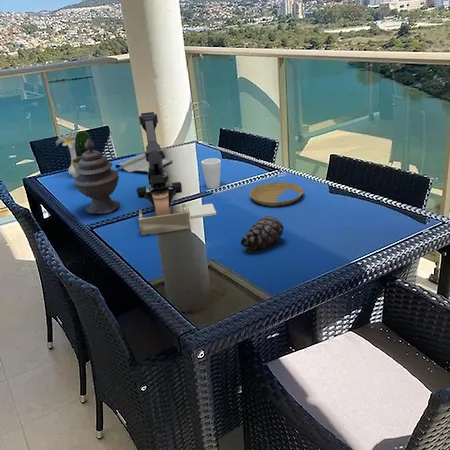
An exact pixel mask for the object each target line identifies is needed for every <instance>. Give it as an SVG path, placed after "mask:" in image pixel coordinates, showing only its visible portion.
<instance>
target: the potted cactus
mask: <svg viewBox="0 0 450 450" xmlns="http://www.w3.org/2000/svg"><path fill="white" fill-rule="evenodd" d="M76 132H77V131H76ZM86 132H87V131H86V130H80V129H79V130H78V132H77V134H76V135H75V134H74V135H75V136H76V138H75V144H74V145H75V149H76V151H77V154H78V156H77V158H74V159H73V160H72V161H71V162H72V164H73V167H74V169H76V168H77V167H79V165H78V163H79V161H80V160H81V159H82V158H81V156H82V154H83V153H85V152H86V151H88V149H86V148H85V143H86V141H87V140H88V138H89V139H90V140H91V141H92V138H91V137H92V136H91V135H90V132H89V133H88V132H87V133H86ZM76 175H77V176H78V175H79V173H76Z"/></svg>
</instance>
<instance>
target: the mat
mask: <svg viewBox="0 0 450 450" xmlns="http://www.w3.org/2000/svg"><path fill="white" fill-rule="evenodd" d="M162 162H163V167H164V166H167V165H169V164H172V163H173V160H172V159H165V158H164V159H162ZM115 168H116V169H118V170H120V168H121V169H123V170H124V171H126V172H127V173H129V174H130V173H134V172H141V173H143V172H145V173H147V174H148V172H149V162H148V161H146V156H145V153H142V154H139V155H137V156H133V157H132V158H129V159H126V160H124V161H122V162H120V163H117V164H115Z"/></svg>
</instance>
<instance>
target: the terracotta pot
mask: <svg viewBox="0 0 450 450" xmlns="http://www.w3.org/2000/svg"><path fill="white" fill-rule="evenodd" d="M151 194H152V193H151ZM152 198H153V202H154V205H155V210H154V211H155V216H161V215H168V214H171V207H170V208H169V191H167V192H166V191H159V192H156V193H153V194H152Z"/></svg>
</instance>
